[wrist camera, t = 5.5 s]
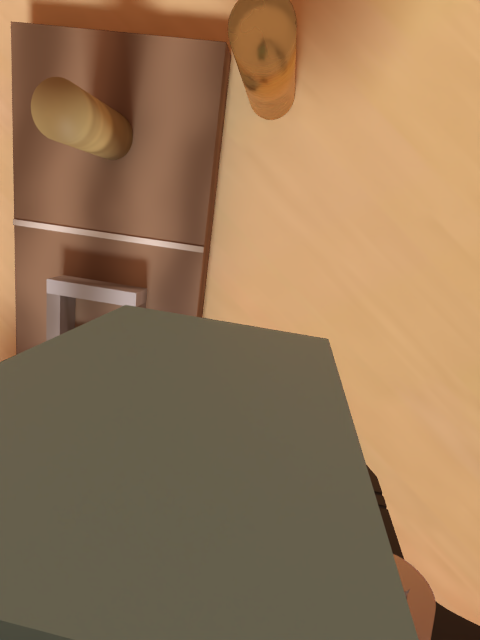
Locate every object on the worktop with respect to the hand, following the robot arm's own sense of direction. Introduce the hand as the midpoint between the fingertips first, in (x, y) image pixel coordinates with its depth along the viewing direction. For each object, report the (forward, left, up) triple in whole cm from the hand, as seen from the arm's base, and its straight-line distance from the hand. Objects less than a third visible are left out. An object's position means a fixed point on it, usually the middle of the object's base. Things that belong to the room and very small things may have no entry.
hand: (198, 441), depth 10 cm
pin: (+1, -14, -19) cm, 24 cm away
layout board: (+11, -3, -19) cm, 22 cm away
